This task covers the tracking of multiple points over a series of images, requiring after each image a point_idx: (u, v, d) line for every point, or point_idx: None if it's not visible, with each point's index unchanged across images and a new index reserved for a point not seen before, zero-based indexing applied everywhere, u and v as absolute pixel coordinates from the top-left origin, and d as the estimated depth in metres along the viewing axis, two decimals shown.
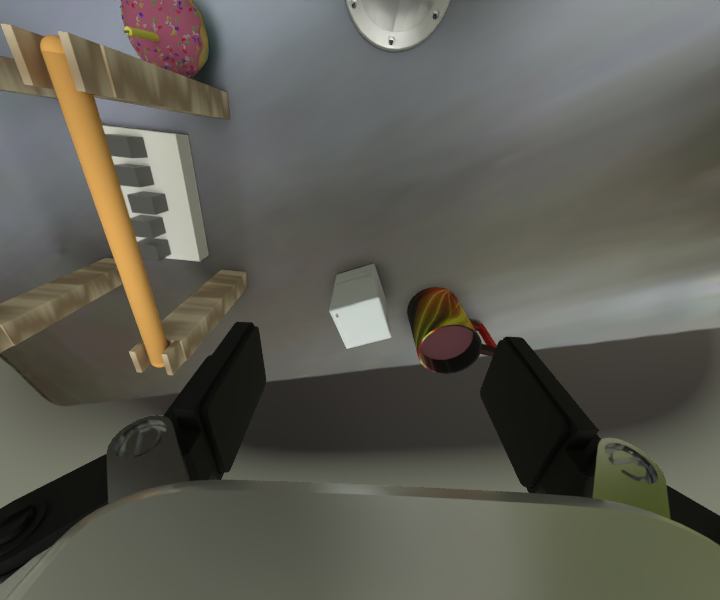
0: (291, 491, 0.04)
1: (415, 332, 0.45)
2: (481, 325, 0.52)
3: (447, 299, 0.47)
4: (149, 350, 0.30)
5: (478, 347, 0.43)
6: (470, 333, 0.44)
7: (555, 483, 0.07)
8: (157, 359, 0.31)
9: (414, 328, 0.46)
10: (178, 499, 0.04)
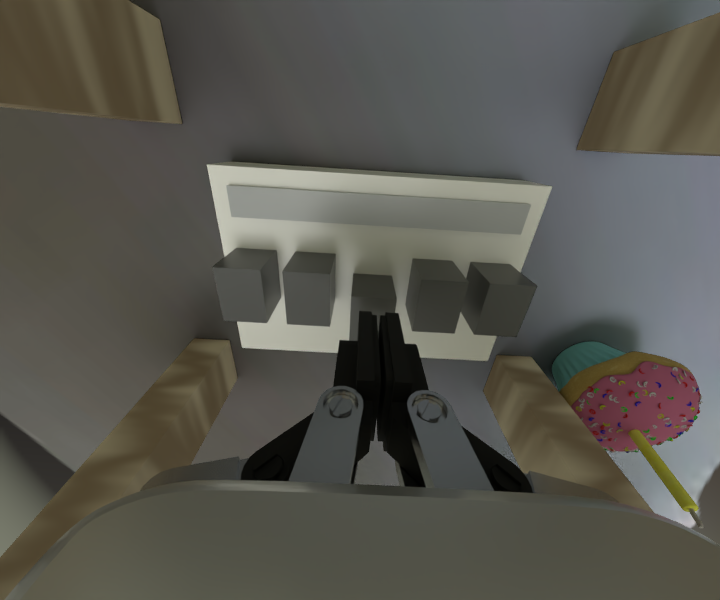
0: (291, 491, 0.04)
1: None
2: None
3: None
4: None
5: None
6: None
7: (389, 433, 0.08)
8: None
9: None
10: (178, 499, 0.04)
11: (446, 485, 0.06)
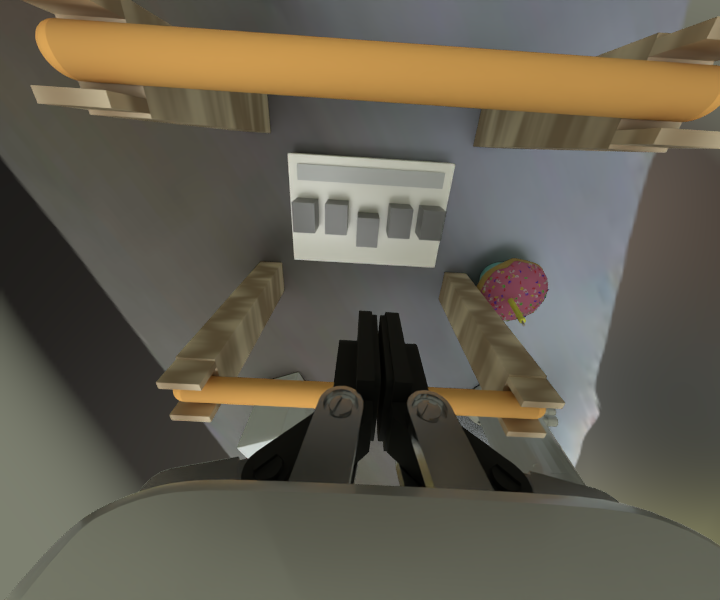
0: (291, 491, 0.04)
1: None
2: None
3: None
4: (207, 398, 0.21)
5: None
6: None
7: (389, 433, 0.08)
8: (192, 401, 0.21)
9: None
10: (178, 499, 0.04)
11: (446, 485, 0.06)
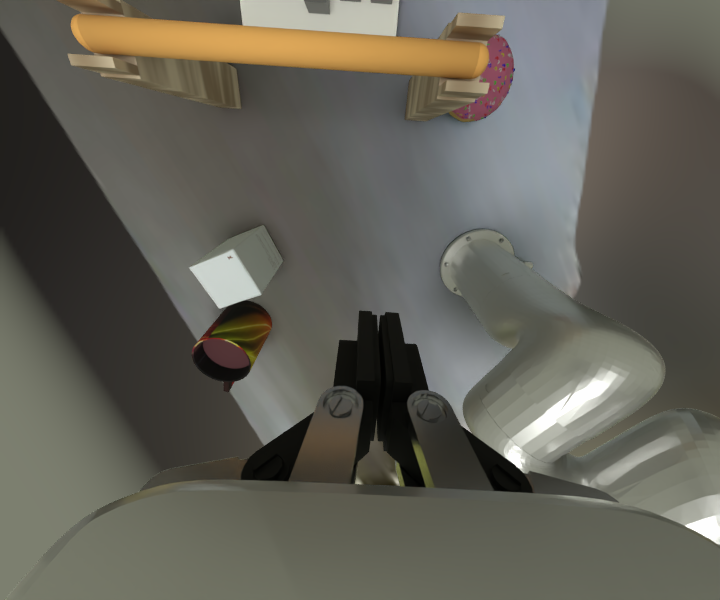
0: (291, 491, 0.04)
1: (227, 325, 0.47)
2: None
3: (265, 337, 0.53)
4: (108, 28, 0.18)
5: (231, 378, 0.49)
6: (240, 366, 0.51)
7: (389, 433, 0.08)
8: (92, 38, 0.19)
9: (230, 322, 0.48)
10: (178, 499, 0.04)
11: (446, 485, 0.06)
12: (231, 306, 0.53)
